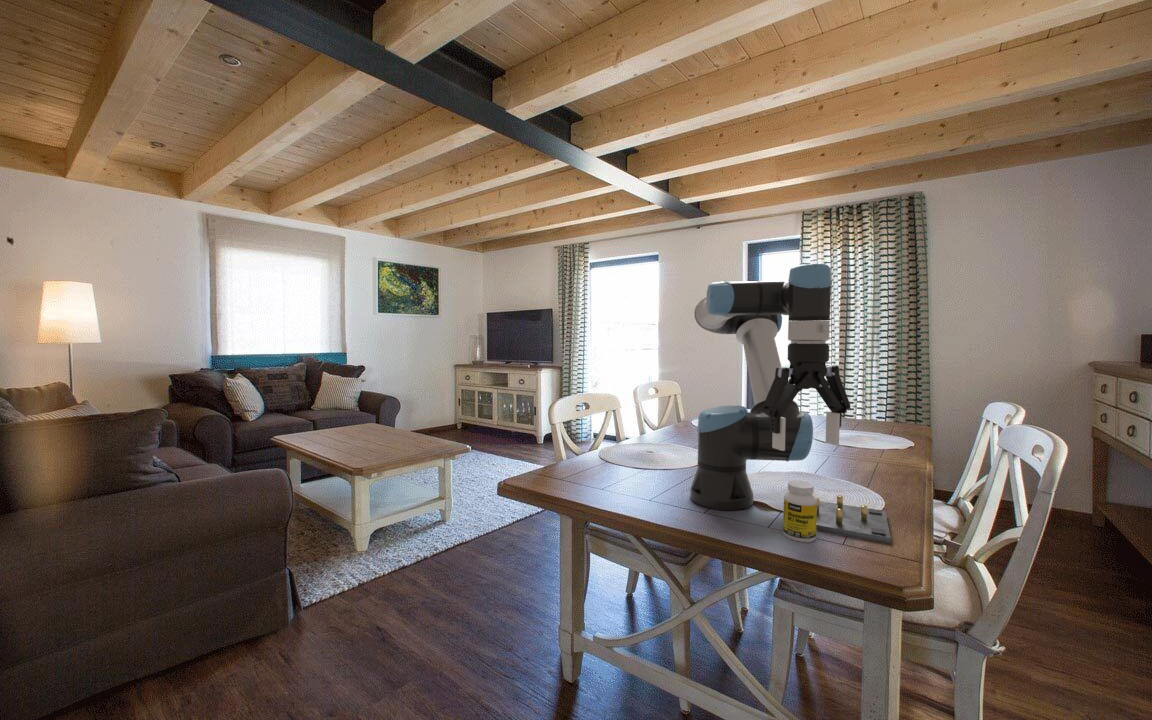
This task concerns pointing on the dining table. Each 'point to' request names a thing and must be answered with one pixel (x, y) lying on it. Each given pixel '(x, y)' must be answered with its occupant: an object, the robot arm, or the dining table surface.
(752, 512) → the dining table surface
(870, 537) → the plate
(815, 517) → the pill bottle
